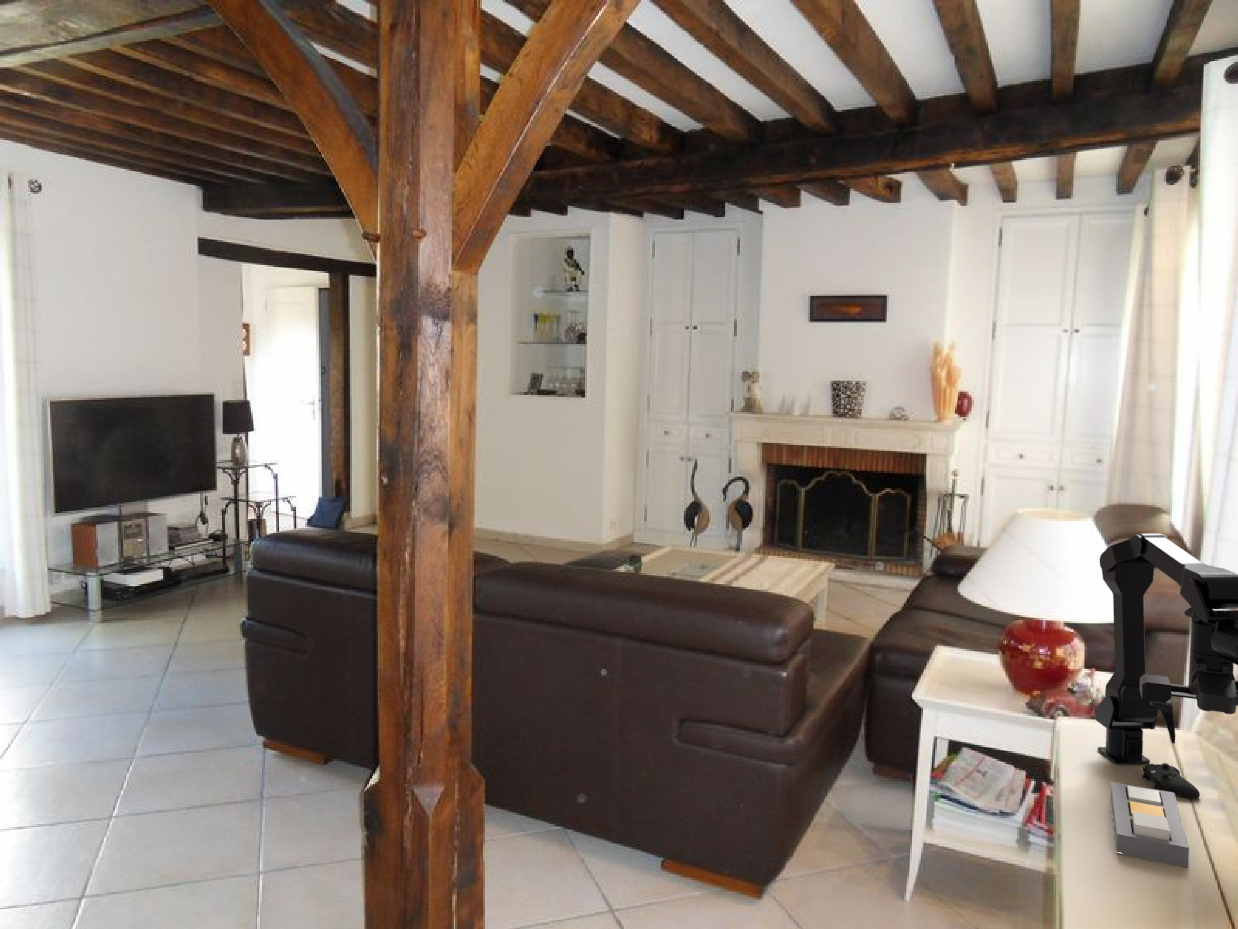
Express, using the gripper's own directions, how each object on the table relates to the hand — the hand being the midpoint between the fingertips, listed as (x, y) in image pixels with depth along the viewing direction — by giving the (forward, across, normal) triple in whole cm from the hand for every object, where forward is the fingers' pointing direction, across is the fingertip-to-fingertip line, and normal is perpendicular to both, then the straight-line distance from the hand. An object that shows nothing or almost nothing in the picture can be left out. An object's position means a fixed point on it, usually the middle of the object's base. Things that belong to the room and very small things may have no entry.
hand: (1207, 747), depth 137 cm
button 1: (+11, -8, -2) cm, 14 cm away
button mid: (+11, -8, -8) cm, 16 cm away
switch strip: (+12, -8, -8) cm, 17 cm away
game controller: (+12, -4, +12) cm, 18 cm away
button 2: (+10, -8, -14) cm, 19 cm away
